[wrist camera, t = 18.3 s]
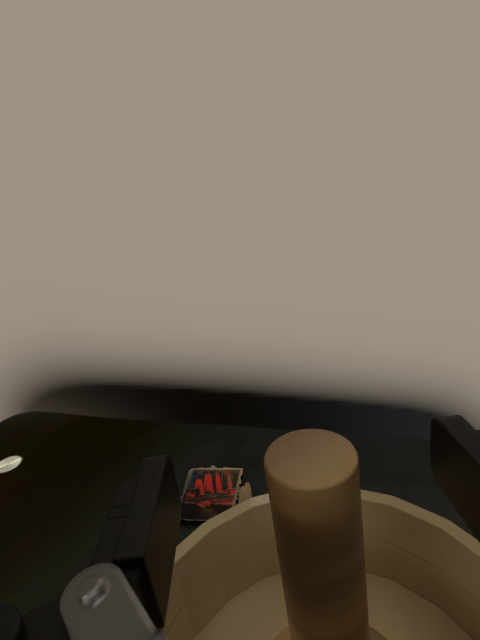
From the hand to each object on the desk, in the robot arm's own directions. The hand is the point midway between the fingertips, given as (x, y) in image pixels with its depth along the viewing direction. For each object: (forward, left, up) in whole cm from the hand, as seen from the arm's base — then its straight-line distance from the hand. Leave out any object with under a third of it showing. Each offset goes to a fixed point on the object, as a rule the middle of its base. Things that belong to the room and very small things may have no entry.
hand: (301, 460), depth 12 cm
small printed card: (+11, -4, -11) cm, 16 cm away
